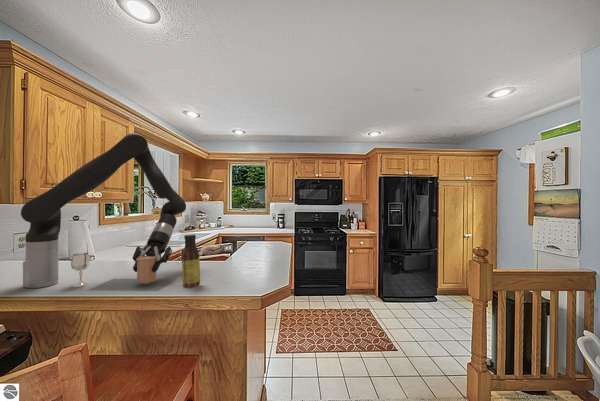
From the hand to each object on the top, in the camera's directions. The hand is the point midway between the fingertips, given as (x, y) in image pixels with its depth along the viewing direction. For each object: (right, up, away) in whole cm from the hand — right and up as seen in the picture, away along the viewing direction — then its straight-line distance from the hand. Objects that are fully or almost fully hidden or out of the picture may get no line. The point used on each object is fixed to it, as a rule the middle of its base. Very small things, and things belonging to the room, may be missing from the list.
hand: (144, 270), depth 102 cm
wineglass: (-26, -6, +2) cm, 27 cm away
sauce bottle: (+17, -6, +2) cm, 18 cm away
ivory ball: (0, -6, +2) cm, 6 cm away
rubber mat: (-5, -6, +2) cm, 8 cm away
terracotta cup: (0, -4, +2) cm, 4 cm away
